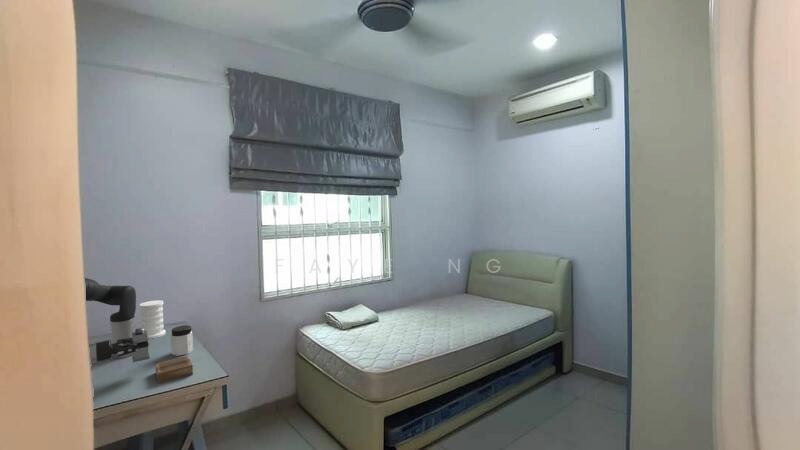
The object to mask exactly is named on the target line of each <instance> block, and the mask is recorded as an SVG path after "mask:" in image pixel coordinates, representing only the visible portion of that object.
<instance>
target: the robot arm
mask: <svg viewBox="0 0 800 450" xmlns="http://www.w3.org/2000/svg"><path fill="white" fill-rule="evenodd" d="M84 278H85V283H86V301H85V302H98V303H101V304H105V305H108V306H119V310H118V311H116V312H114V313H111V314H110V316H109V323H110V325H109V327H110V339H111V340H110V339H108V340H102V341H97V342H93V343H89V347H90V358H91V363H90V364H94V363H95V364H96V363H99V362H103V361H108V360H111V359H112V358H113V359H123V358H127V357H128V358H129V357H131V356H133V352H135V351H136V350H137V349H140V348H144V347H148V348H149V346H150V344H149V340H148V341H146V342H141V343H135V344H133V342H132V333H133V332H135V330H136V319H135V318H136V317H135V315H136V310H137V292H136V289H135V287H133V286H131V285H103V284H99V282H98V281H96V280H94V279H92V278H88V277H84Z"/></svg>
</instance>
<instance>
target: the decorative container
mask: <svg viewBox="0 0 800 450" xmlns="http://www.w3.org/2000/svg"><path fill="white" fill-rule="evenodd" d="M163 305H164V300H161V299H160V300H157V299H156V300H149V301H145V302H141V303H140V304H139V308H140V314H141V317H140V320H141V323H140V324H141V328H144V330H147V337H148V340H152V338H153V339H157V338H160V337H164V336H165V335H166V330H165V329H164V327H165V325H164V312H163V311H164V307H163Z"/></svg>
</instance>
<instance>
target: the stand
mask: <svg viewBox="0 0 800 450" xmlns="http://www.w3.org/2000/svg"><path fill="white" fill-rule="evenodd" d="M193 367H194V365H193V363H192V362H191V359H190V357H189V356H188V355H184V356H181V357H177V358H173V359H168V360H163V361H160V362H156V363H155V374H156V377H157V382H158V384H163V383H166V382H169V381H172V380H173V381H174V380H177V379H180V378H185V377H189V376H192V375H193V374H194V370H193Z"/></svg>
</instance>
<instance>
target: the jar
mask: <svg viewBox="0 0 800 450" xmlns="http://www.w3.org/2000/svg"><path fill="white" fill-rule="evenodd" d="M193 336H194V335H193V331H192V326H190V325H187V324H185V325H179V326H176V327H173V328H171V334H170V351H171V355H172V356H176V357H179V356H187V355H189V354H190V353H191V352H193V351H194V342H193V341H194V340H193Z"/></svg>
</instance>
